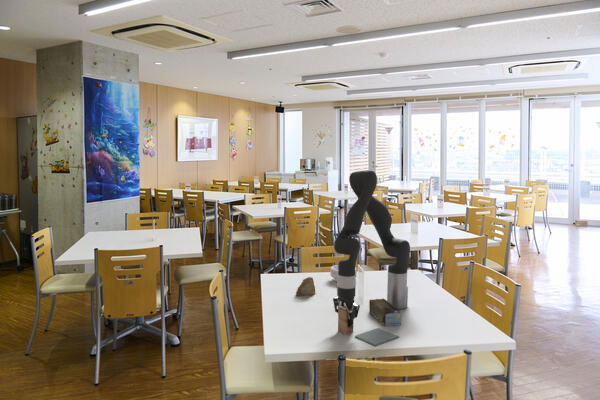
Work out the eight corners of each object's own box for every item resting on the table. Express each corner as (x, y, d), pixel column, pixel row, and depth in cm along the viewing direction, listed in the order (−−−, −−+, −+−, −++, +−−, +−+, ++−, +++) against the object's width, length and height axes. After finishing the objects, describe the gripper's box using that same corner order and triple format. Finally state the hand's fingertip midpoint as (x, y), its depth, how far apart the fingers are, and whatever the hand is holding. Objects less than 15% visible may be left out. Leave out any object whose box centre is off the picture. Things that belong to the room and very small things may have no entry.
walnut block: (345, 328, 194) (346, 303, 192) (353, 332, 190) (353, 306, 189) (337, 331, 191) (338, 305, 190) (345, 334, 187) (345, 308, 186)
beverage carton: (384, 327, 196) (385, 312, 196) (368, 312, 215) (368, 298, 214) (401, 325, 198) (402, 310, 197) (384, 310, 217) (384, 297, 216)
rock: (293, 293, 234) (312, 292, 232) (293, 277, 238) (312, 276, 237) (298, 300, 243) (316, 299, 241) (298, 285, 247) (316, 284, 246)
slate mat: (378, 329, 193) (378, 327, 193) (398, 337, 185) (398, 335, 185) (354, 337, 185) (354, 335, 185) (375, 346, 176) (375, 344, 176)
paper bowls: (357, 284, 258) (358, 271, 258) (331, 284, 259) (331, 270, 258) (355, 277, 274) (355, 264, 273) (329, 277, 274) (329, 264, 273)
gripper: (365, 287, 185) (364, 328, 187) (341, 279, 196) (340, 318, 198) (352, 291, 180) (351, 332, 182) (328, 282, 192) (327, 322, 193)
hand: (345, 324), depth 190 cm, fingers closed on walnut block, 4 cm apart
